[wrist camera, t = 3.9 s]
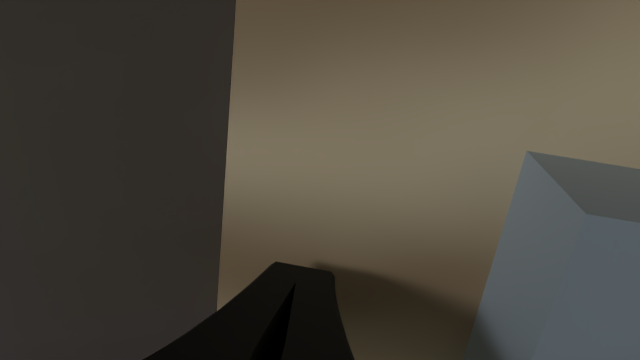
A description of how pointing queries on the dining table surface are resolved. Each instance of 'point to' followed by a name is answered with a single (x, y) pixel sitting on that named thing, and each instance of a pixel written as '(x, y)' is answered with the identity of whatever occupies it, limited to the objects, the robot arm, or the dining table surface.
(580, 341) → the bevelled grey block
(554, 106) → the board
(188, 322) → the dining table surface
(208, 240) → the dining table surface
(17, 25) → the dining table surface
